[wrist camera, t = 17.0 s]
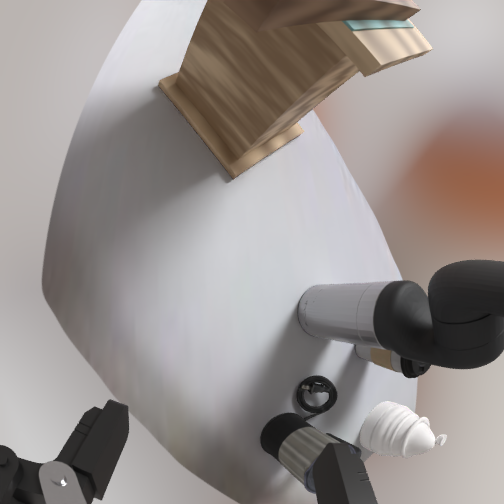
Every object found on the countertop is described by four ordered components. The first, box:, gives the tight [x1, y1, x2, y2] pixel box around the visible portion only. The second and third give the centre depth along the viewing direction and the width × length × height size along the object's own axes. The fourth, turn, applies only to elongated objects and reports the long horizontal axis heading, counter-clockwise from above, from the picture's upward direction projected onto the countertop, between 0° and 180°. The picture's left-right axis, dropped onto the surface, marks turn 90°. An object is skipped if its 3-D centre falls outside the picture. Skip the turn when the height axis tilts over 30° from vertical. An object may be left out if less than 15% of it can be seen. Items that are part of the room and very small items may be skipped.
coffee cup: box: [356, 345, 431, 378], centre depth 47 cm, size 9×9×15 cm
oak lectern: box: [158, 0, 433, 179], centre depth 33 cm, size 20×24×32 cm
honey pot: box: [360, 401, 447, 458], centre depth 46 cm, size 13×13×18 cm
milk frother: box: [260, 376, 361, 494], centre depth 39 cm, size 14×16×15 cm
